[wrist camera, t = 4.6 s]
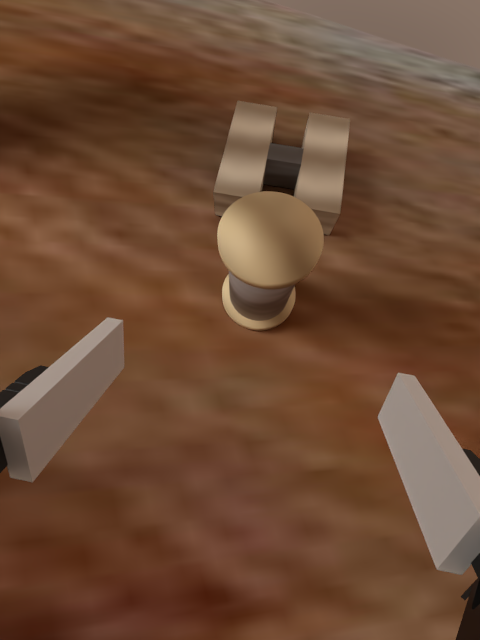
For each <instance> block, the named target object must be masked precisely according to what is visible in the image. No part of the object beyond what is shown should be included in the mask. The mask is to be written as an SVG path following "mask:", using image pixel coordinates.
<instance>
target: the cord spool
mask: <svg viewBox="0 0 480 640" xmlns="http://www.w3.org/2000/svg"><path fill="white" fill-rule="evenodd" d="M217 238H218V249H219V254H220V257H221V259H222V261H223V263H224V265H225V266H226V268H227V269H228V270H229V274H228V275H227V277H226V279H225V281H224V284H223V288H222V299H223V305H224V308H225V310H226V312H227V314H228V315H229V317H230V318H231V319H232V320H233V321H234V322H235V323H237V324H238V325H240V326H242V327H244V328H246V329H249V330H255V331H264V330H269V329H272V328H274V327H276V326H278V325H280V324H281V323H282V322H284V321H285V320H286V318H287V317H288V316H289V314H290V313H291V311H292V309H293V306H294V303H295V298H296V292H295V287H294V286H295V284H296V283H298V282H300V281H302V280H303V279H304V278H305V277H307V276H308V275H309V274H310V272H311V271H312V270H313V269H314V267H315V265H316V264H317V262H318V260H319V258H320V256H321V253H322V250H323V245H324V234H323V229H322V226H321V223H320V221H319V219H318V217H317V216H316V214H315V213H314V212H313V211H312V210H311V208H310V207H308V206H307V205H306V204H305V203H303V202H302V201H301V200H299V199H297V198H295V197H293V196H291V195H288V194H285V193H280V192H273V191H262V192H256V193H252V194H249V195H246V196H244V197H242V198H240V199H238V200H237V201H235V202H234V203H233V204H232V205H231V206H230V207H229V208H228V209H227V210H226V211H225V213H224V214H223V216H222V218H221V220H220V222H219V226H218V233H217Z"/></svg>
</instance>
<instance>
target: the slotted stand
mask: <svg viewBox="0 0 480 640" xmlns="http://www.w3.org/2000/svg"><path fill="white" fill-rule="evenodd" d="M276 114H277V107H273V106H267V105H261V104H255V103H248V102H242V101H237V105H236V108H235V112H234V116H233V120H232V123H231V127H230V131H229V135H228V138H227V142H226V146H225V150H224V153H223V157H222V161H221V165H220V168H219V172H218V176H217V180H216V183H215V187H214V191H213V195H214V207H215V215H218V216H223V214H224V213H225V211H226V210H227V209H228V208H229V207H230V206H231V205H232V204H233V203H234V202H235V201H237V200H238V199H240V198H242V197H244V196H246V195H249V194H252V193H256V192H262V188H263V184H267V185H272V186H278V187H284V188H290V189H295V190H294V196H293V197H295V198H297V199H299V200H301V201H302V202H303V203H305V204H306V205H307V206H308V207H310V208H311V210H312V211H313V212H314V213H315V214H316V216H317V217H318V219H319V221H320V223H321V226H322V229H323V234H326V235H330V233H331V231H332V229H333V227H334V225H335V223H336V221H337V219H338V217H339V215H340V211H341V202H342V192H343V183H344V173H345V164H346V155H347V145H348V136H349V126H350V119H347V118H341V117H335V116H329V115H322V114H316V113H309V117H308V121H307V125H306V129H305V133H304V137H303V141H302V148H298V147H292V146H286V145H280V144H274V143H272V140H273V135H274V128H275V121H276Z"/></svg>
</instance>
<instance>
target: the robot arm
mask: <svg viewBox="0 0 480 640" xmlns="http://www.w3.org/2000/svg"><path fill="white" fill-rule="evenodd" d="M123 368H124V338H123V320H118V319H113V318H106V319H105V320H104V321H103V322H102V323H101V324H99V325H98V326H97V327H96V328H95V329H93V330H92V331H91V332H90V333H89V334H88V335H86V336H85V337H84V338H83V339H82V340H80V341H79V342H78V343H77V344H76V345H75V346H73V347H72V348H71V349H70V350H69V351H68V352H66V353H65V354H64V355H63V356H62V357H60V358H59V359H58V360H57V361H56V362H55V363H53V364H52V365H51V366H50V367H45V366H39V367H36V368H34V369H32V370H30V371H28V372H26V373H24V374H23V375H22V376H21V377H19V378H18V379H17V380H15V382H14V383H12V384H10V385H9V386H8V387H7V388H6V390H3V391H2V392H0V473H1V472H2V470H3V469H4V468H5V467H6V466H7V467H8V471H9V474H10V478H15V479H20V480H24V481H29V482H33V481H34V480H35V479H36V477H37V476H38V475H39V474H40V472H41V471H42V470H43V469H44V467H45V466H46V465H47V464H48V462H49V461H50V460H51V459H52V457H53V456H54V455H55V454H56V452H57V451H58V450H59V449H60V447H61V446H62V445H63V444H64V442H65V441H66V440H67V439H68V437H69V436H70V435H71V433H72V432H73V431H74V430H75V428H76V427H77V426H78V425H79V423H80V422H81V421H82V420H83V418H84V417H85V416H86V415H87V413H88V412H89V411H90V410H91V408H92V407H93V406H94V405H95V403H96V402H97V401H98V400H99V398H100V397H101V396H102V395H103V393H104V392H105V391H106V390H107V388H108V387H109V386H110V385H111V383H112V382H113V381H114V380H115V378H116V377H117V376H118V375H119V373H120V372H121V371H122V369H123ZM378 420H379V422H380V425H381V427H382V430H383V432H384V435H385V438H386V440H387V443H388V445H389V448H390V450H391V453H392V456H393V458H394V461H395V463H396V466H397V468H398V471H399V474H400V476H401V479H402V481H403V484H404V487H405V489H406V492H407V494H408V497H409V499H410V502H411V505H412V507H413V510H414V512H415V515H416V517H417V520H418V523H419V525H420V528H421V530H422V533H423V535H424V538H425V541H426V543H427V546H428V548H429V551H430V554H431V556H432V559H433V561H434V564H435V566H436V569H437V570H441V571H446V572H450V573H455V574H460V575H462V574H463V573H464V572H465V571H466V570H467V569H468V567H469V566H470V565H471V564H472V566H473V568H474V570H475V572H476V574H477V577H478V579H477V580H476V581H475V582H474V583H473V584H472V585H471V586H470V587H469V588H468V589H467V590H466V591H465V592H464V594H463V595H462V596H461V597H462V598H463V599H464V600H466V599H467V598H468V597H469V598H468V601H467V605H466V608H465V611H464V614H463V618H462V621H461V624H460V627H459V631H458V634H457V637H456V640H480V459H479V458H478V457H477V456H476V455H475V454H474V453H473V452H472V451H471V450H467V449H462V448H461V447H460V445H459V443H458V442H457V440H456V439H455V437H454V436H453V434H452V433H451V431H450V430H449V428H448V426H447V425H446V423H445V422H444V420H443V419H442V417H441V416H440V414H439V412H438V411H437V409H436V408H435V406H434V405H433V403H432V402H431V400H430V399H429V397H428V395H427V394H426V392H425V391H424V389H423V388H422V386H421V385H420V383H419V382H418V380H417V378H416V377H415V376H413V375H408V374H402V373H398V374H397V376H396V378H395V380H394V383H393V385H392V387H391V389H390V391H389V393H388V396H387V398H386V400H385V402H384V404H383V406H382V409H381V411H380V413H379V415H378Z"/></svg>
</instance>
